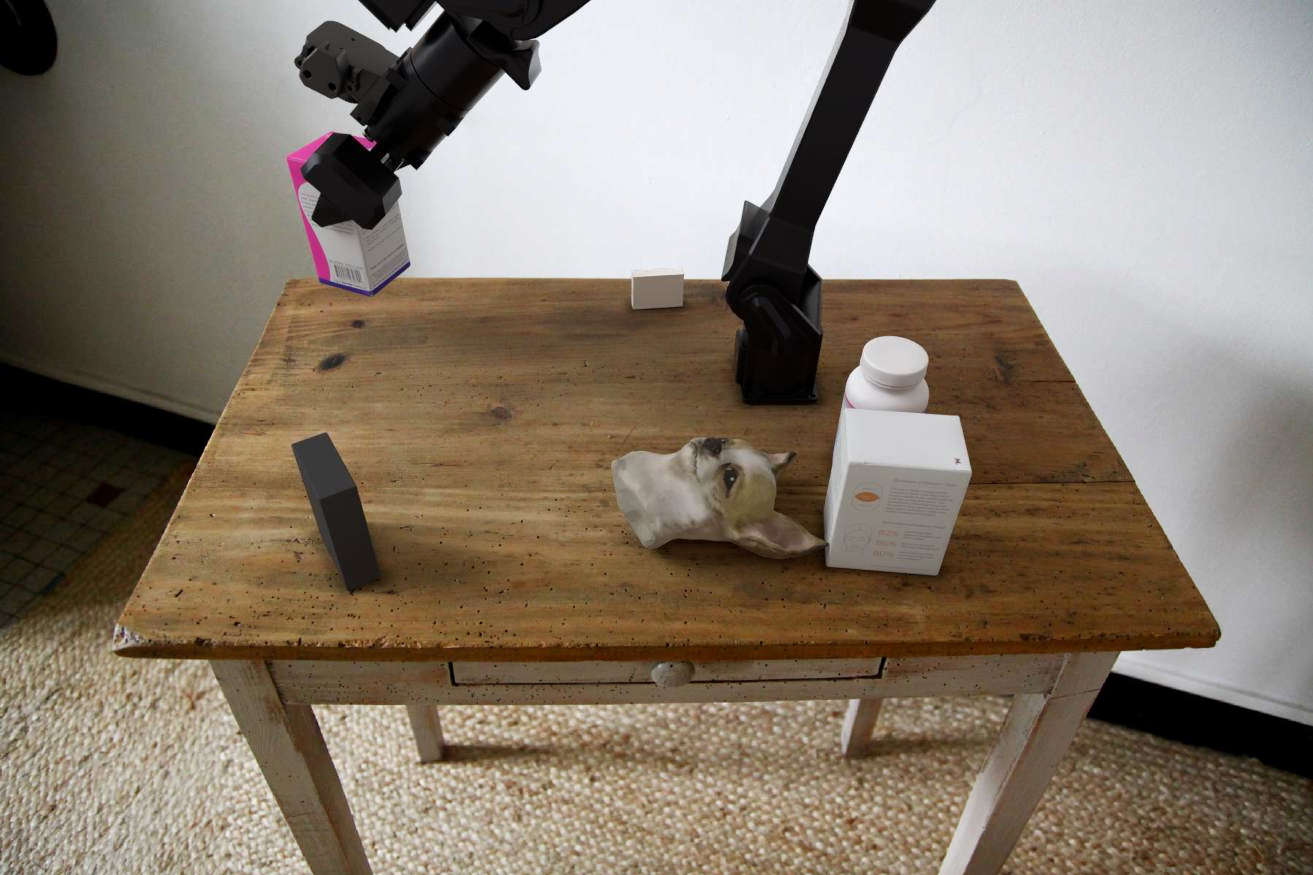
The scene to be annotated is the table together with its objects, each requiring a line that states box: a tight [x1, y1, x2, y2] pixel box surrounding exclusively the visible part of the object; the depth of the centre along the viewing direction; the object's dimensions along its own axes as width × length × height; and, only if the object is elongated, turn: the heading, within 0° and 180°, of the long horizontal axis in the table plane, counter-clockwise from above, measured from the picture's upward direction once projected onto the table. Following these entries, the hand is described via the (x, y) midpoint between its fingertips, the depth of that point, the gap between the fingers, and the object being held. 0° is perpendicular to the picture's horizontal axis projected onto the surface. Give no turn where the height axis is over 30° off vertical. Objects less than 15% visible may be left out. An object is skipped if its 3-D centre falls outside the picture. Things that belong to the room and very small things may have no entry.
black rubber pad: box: [290, 431, 382, 592], centre depth 62 cm, size 2×6×9 cm, turn 32°
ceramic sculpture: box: [610, 436, 829, 560], centre depth 66 cm, size 11×9×15 cm
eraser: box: [631, 266, 685, 310], centre depth 89 cm, size 1×5×4 cm, turn 98°
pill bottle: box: [832, 335, 930, 460], centre depth 70 cm, size 6×6×11 cm
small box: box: [823, 408, 973, 576], centre depth 64 cm, size 8×6×10 cm
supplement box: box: [285, 130, 412, 298], centre depth 77 cm, size 6×6×12 cm
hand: (334, 202), depth 76 cm, fingers closed on supplement box, 6 cm apart
